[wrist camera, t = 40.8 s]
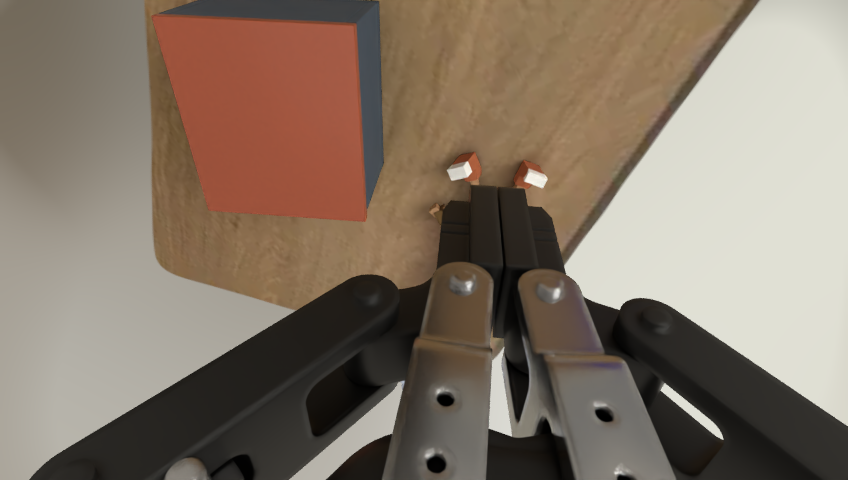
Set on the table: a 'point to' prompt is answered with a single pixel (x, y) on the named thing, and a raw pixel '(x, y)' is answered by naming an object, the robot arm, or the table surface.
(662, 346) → the robot arm
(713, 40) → the table surface
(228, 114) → the lid
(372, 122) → the sorter box
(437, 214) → the character figurine
